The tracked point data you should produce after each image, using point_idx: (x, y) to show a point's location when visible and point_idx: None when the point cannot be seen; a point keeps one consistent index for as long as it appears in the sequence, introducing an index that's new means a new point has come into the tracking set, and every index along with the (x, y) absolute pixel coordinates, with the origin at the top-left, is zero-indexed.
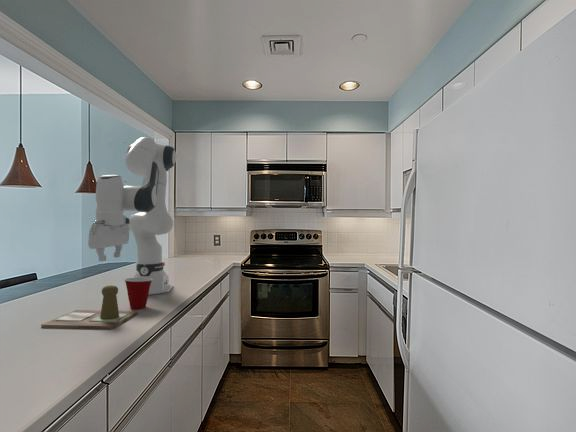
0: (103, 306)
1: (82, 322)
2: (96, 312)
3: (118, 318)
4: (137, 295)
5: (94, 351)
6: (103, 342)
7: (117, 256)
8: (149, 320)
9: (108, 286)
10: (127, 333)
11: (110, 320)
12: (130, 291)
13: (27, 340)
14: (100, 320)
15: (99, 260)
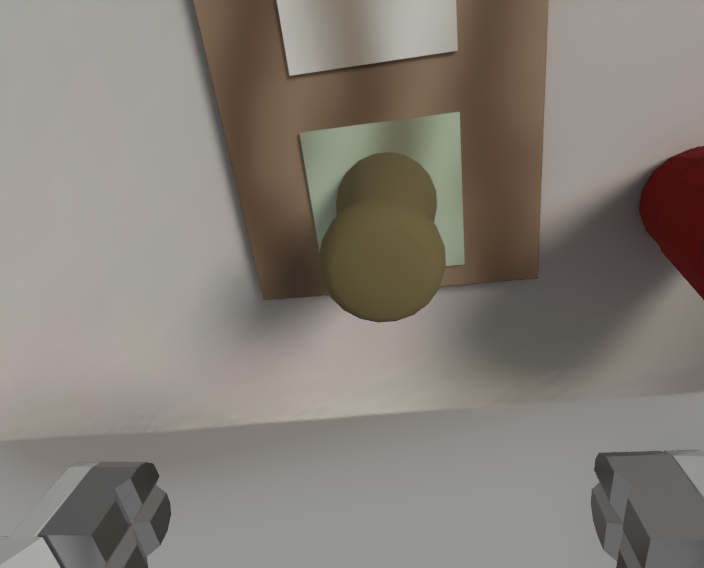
0: (338, 210)
1: (272, 107)
2: (490, 25)
3: None
4: (675, 259)
5: (64, 369)
6: (135, 349)
7: (598, 521)
8: (423, 377)
9: (358, 277)
10: (244, 376)
11: None
12: (700, 215)
13: (3, 3)
14: (315, 197)
15: (78, 472)
